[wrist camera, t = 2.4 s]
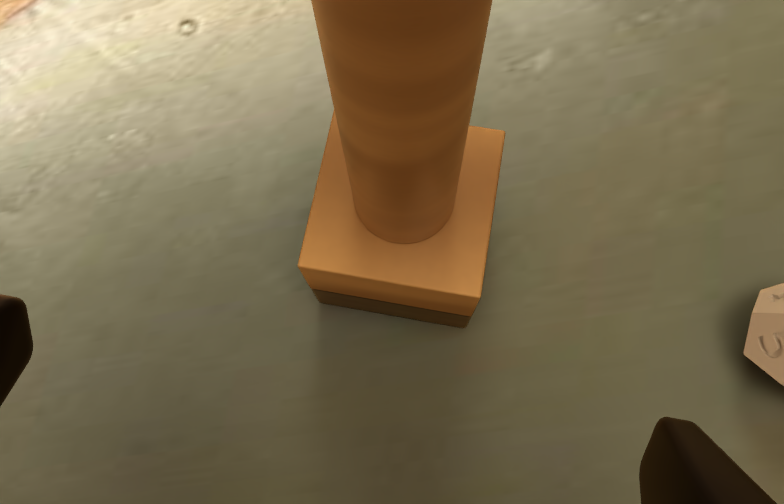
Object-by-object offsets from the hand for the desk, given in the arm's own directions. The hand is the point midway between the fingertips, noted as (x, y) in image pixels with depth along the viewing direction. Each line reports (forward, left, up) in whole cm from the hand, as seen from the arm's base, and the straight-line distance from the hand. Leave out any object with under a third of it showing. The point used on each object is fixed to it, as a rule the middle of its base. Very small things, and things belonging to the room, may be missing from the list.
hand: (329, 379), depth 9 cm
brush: (+3, +5, -12) cm, 14 cm away
